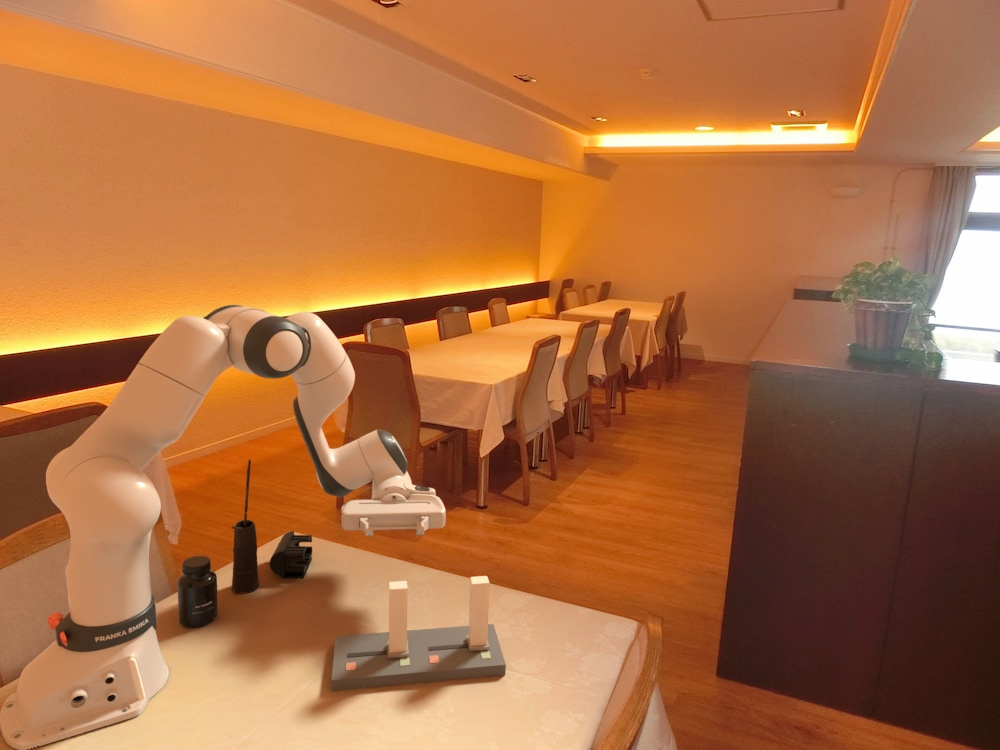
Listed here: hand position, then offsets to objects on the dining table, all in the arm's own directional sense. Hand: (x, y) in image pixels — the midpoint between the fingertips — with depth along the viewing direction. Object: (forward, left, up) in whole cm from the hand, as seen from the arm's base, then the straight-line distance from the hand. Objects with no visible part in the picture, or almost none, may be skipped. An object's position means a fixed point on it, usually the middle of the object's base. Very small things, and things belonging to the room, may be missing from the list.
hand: (395, 532), depth 120 cm
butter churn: (-18, +30, -19) cm, 40 cm away
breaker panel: (-3, -12, -19) cm, 23 cm away
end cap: (-6, +32, -19) cm, 38 cm away
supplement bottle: (-28, +25, -19) cm, 42 cm away
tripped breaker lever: (-6, -10, -17) cm, 20 cm away
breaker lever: (+6, -18, -17) cm, 25 cm away
